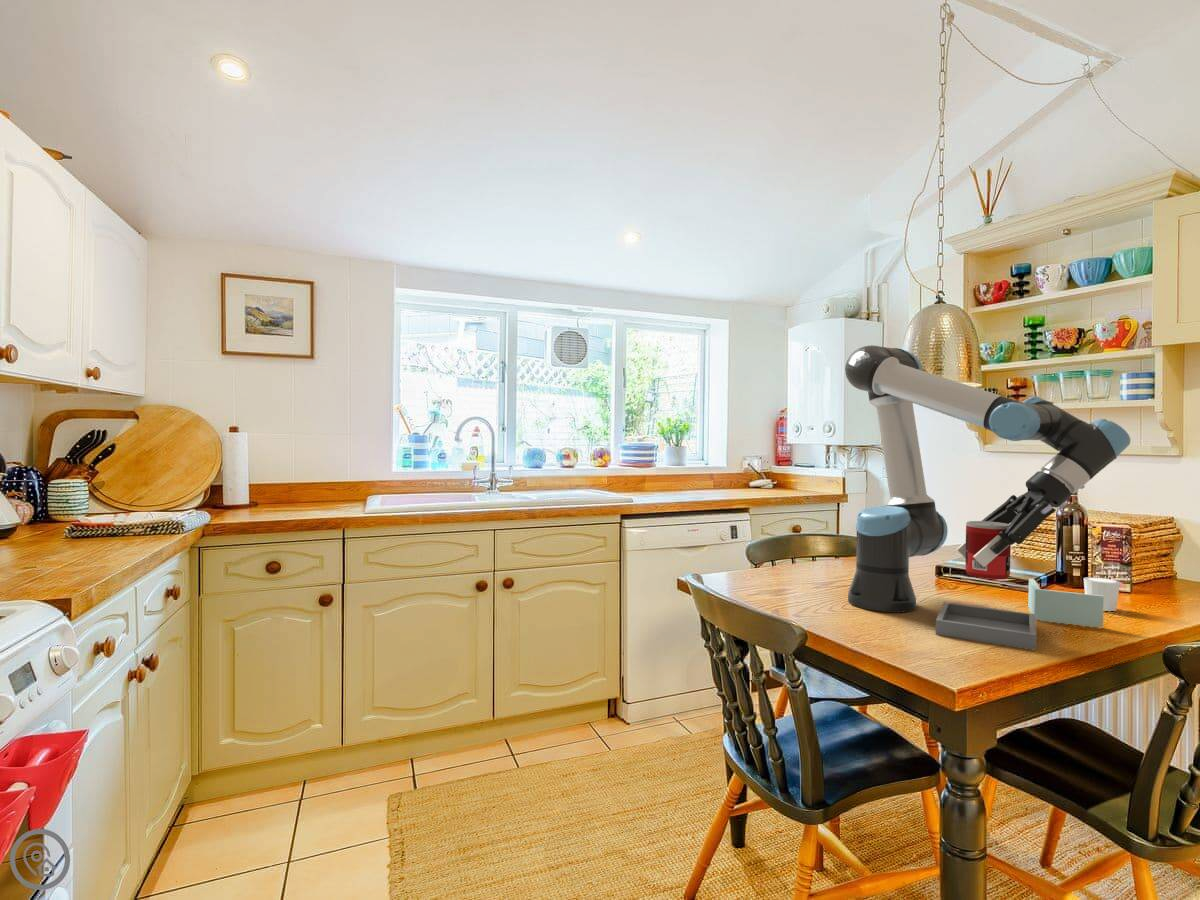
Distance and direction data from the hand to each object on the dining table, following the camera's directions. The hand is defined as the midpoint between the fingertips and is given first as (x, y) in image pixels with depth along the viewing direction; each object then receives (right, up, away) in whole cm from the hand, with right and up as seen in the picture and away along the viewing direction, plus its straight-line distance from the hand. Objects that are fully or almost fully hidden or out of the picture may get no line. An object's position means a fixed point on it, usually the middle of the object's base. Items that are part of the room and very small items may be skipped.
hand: (969, 557), depth 131 cm
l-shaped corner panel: (+27, -16, +10) cm, 33 cm away
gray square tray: (+3, -15, 0) cm, 16 cm away
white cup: (+42, -16, +17) cm, 48 cm away
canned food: (+3, -4, 0) cm, 5 cm away
